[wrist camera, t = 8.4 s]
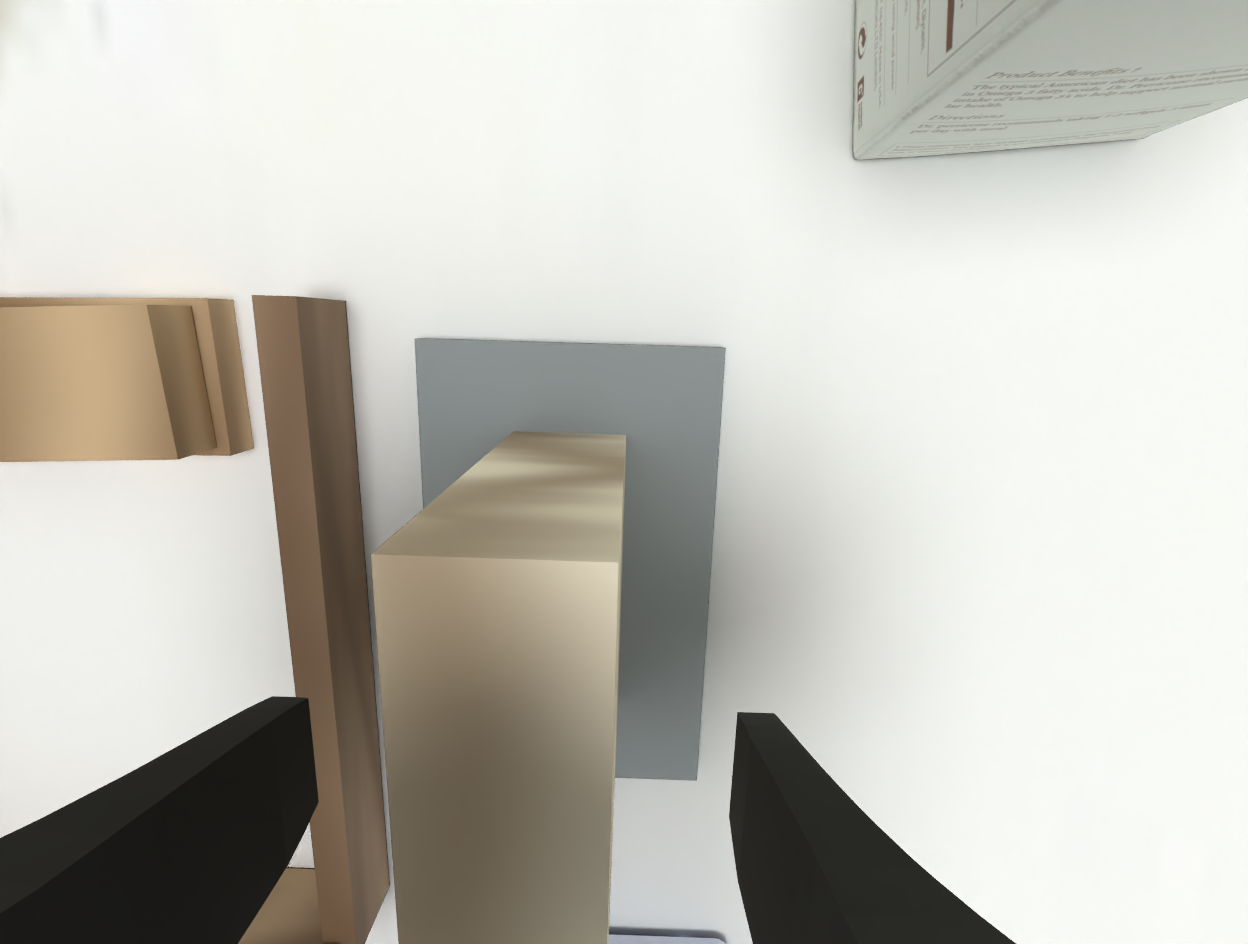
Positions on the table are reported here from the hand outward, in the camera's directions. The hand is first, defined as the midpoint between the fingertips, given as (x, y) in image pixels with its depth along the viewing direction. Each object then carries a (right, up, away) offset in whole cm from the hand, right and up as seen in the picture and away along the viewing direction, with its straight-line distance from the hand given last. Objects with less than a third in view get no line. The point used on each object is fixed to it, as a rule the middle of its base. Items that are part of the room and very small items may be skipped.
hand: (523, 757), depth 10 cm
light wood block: (0, +2, +7) cm, 7 cm away
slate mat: (0, +2, +8) cm, 8 cm away
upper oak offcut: (-14, +7, +5) cm, 16 cm away
